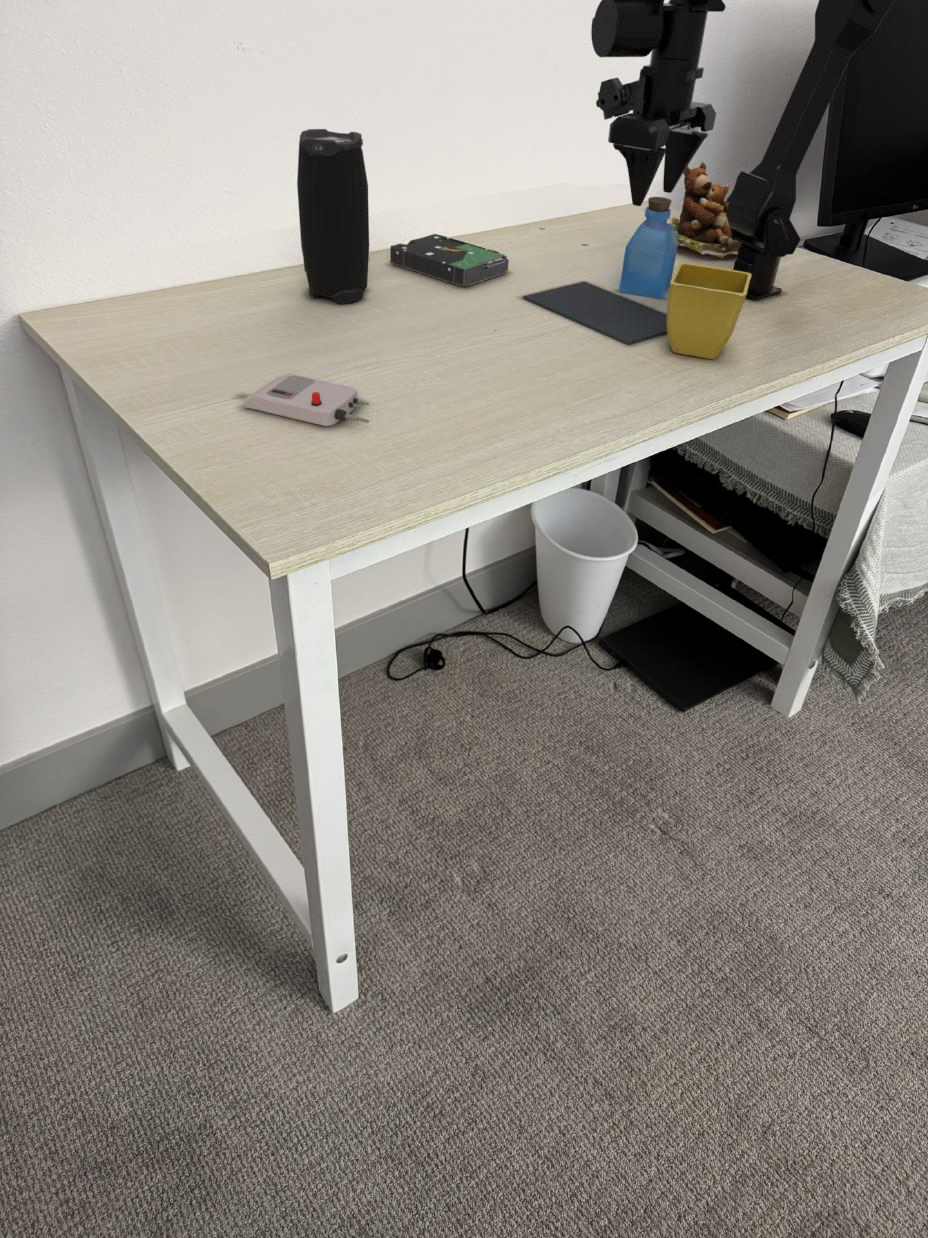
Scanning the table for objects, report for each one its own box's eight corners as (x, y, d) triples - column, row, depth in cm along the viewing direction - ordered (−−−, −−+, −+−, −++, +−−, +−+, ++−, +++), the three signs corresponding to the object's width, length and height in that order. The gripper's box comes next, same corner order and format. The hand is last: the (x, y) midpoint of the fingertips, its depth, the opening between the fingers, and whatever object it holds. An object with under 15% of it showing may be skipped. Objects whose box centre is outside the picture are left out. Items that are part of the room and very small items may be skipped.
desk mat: (584, 283, 128) (584, 281, 128) (690, 325, 116) (690, 323, 116) (522, 298, 122) (522, 295, 122) (628, 344, 110) (628, 342, 110)
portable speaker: (379, 288, 123) (376, 130, 110) (353, 310, 116) (348, 144, 103) (322, 279, 124) (313, 123, 112) (294, 300, 117) (281, 136, 105)
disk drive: (388, 265, 131) (465, 288, 124) (388, 246, 129) (465, 268, 122) (434, 251, 137) (509, 272, 130) (434, 232, 136) (510, 252, 128)
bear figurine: (692, 264, 137) (709, 179, 130) (643, 237, 148) (656, 157, 140) (764, 258, 141) (784, 175, 134) (711, 232, 152) (727, 154, 144)
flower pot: (735, 343, 112) (752, 271, 106) (728, 369, 105) (746, 293, 100) (666, 332, 114) (680, 261, 108) (655, 357, 107) (669, 282, 102)
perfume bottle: (619, 291, 126) (632, 201, 118) (629, 279, 130) (642, 191, 123) (661, 298, 124) (677, 207, 117) (670, 285, 129) (686, 197, 121)
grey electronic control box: (264, 381, 97) (261, 355, 95) (391, 410, 93) (391, 383, 91) (230, 404, 92) (226, 377, 91) (362, 436, 88) (361, 408, 86)
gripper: (647, 43, 113) (628, 175, 123) (577, 55, 101) (562, 200, 111) (729, 53, 109) (702, 189, 119) (665, 66, 97) (642, 217, 106)
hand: (652, 198), depth 114 cm, fingers open, 9 cm apart
